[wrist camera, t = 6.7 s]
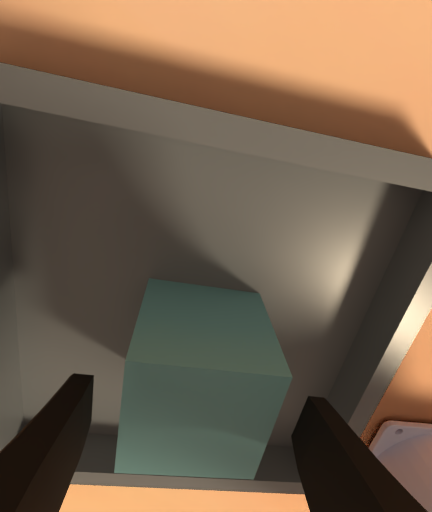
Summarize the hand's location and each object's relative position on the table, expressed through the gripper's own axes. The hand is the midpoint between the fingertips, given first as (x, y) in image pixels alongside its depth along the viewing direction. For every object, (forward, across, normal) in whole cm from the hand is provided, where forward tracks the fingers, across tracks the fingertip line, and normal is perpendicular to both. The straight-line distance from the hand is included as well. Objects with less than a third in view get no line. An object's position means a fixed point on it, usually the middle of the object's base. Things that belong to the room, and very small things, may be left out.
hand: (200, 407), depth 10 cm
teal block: (+4, 0, 0) cm, 5 cm away
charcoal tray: (+6, 0, 0) cm, 6 cm away
